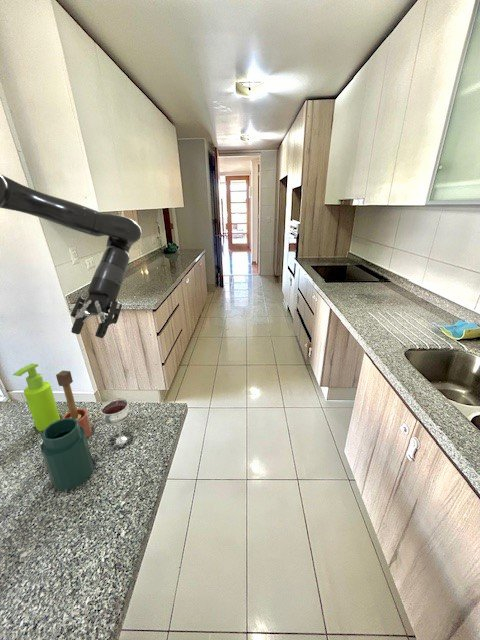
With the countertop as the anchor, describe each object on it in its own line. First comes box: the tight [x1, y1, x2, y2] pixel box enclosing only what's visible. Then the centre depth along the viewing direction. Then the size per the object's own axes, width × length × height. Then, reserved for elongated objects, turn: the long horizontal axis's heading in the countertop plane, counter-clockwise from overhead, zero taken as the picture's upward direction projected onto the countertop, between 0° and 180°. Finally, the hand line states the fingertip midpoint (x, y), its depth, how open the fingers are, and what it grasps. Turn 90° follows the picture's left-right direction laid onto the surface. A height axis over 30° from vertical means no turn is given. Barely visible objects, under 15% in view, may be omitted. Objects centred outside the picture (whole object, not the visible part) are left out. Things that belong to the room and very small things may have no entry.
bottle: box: [40, 418, 94, 491], centre depth 59 cm, size 8×8×14 cm
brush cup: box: [61, 408, 93, 439], centre depth 71 cm, size 6×6×7 cm
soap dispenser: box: [12, 362, 61, 432], centre depth 72 cm, size 6×7×20 cm
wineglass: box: [99, 397, 131, 445], centre depth 69 cm, size 7×7×12 cm
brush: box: [55, 370, 82, 421], centre depth 69 cm, size 3×3×20 cm
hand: (86, 335), depth 70 cm, fingers open, 8 cm apart
